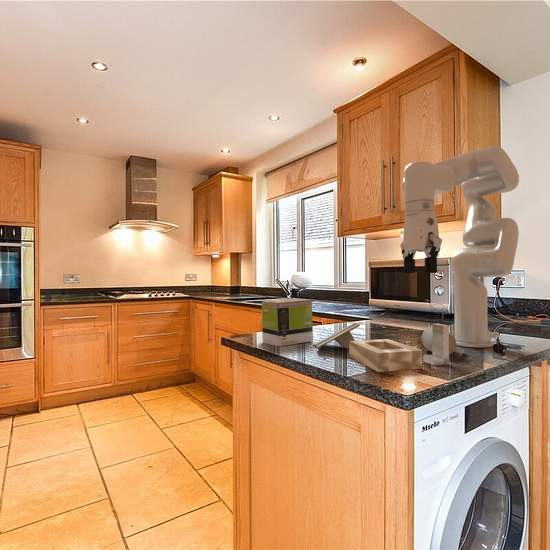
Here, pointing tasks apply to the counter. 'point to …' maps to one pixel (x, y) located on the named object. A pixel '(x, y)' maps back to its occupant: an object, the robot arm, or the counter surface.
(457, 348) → the ceramic mug
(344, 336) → the beige double panel block
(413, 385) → the counter surface
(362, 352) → the well block
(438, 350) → the wood grain block
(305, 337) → the tea box
